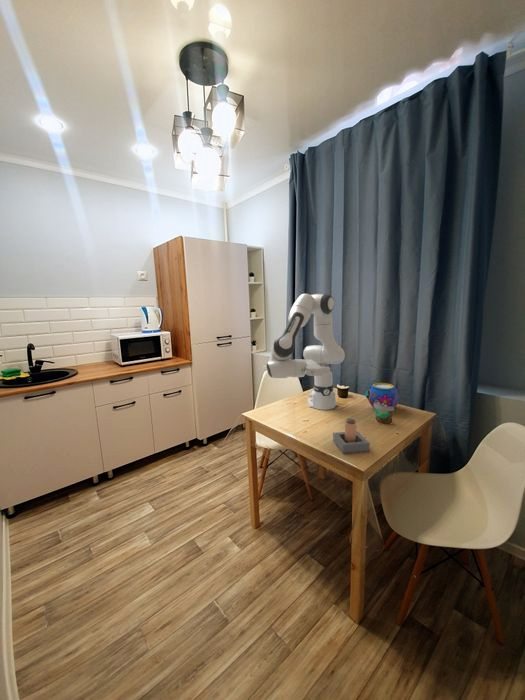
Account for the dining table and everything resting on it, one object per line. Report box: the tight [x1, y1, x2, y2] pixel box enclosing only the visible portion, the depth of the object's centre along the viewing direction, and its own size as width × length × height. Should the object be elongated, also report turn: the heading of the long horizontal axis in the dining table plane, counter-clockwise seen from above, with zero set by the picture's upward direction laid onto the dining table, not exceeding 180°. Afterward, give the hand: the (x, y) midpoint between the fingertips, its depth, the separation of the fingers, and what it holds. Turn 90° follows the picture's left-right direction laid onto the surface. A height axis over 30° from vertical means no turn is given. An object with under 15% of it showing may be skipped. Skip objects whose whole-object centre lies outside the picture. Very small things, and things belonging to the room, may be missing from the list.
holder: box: [332, 430, 370, 455], centre depth 126 cm, size 12×12×4 cm
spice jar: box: [344, 417, 357, 443], centre depth 125 cm, size 5×5×12 cm
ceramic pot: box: [365, 382, 400, 409], centre depth 166 cm, size 18×18×15 cm
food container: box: [373, 400, 395, 425], centre depth 149 cm, size 12×6×10 cm, turn 19°
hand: (326, 366), depth 138 cm, fingers open, 8 cm apart
